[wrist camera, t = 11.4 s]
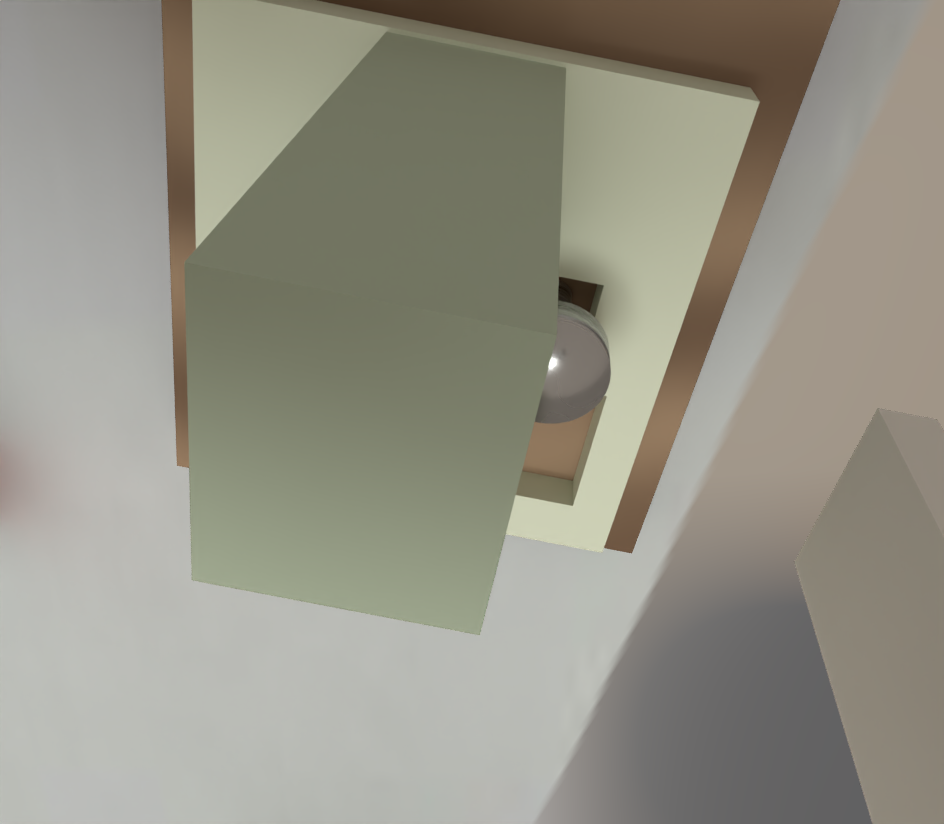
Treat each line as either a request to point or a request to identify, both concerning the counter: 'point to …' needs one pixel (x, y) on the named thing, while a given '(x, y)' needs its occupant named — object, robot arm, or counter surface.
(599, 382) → the boss pair
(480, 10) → the board
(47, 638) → the counter surface
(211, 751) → the counter surface
